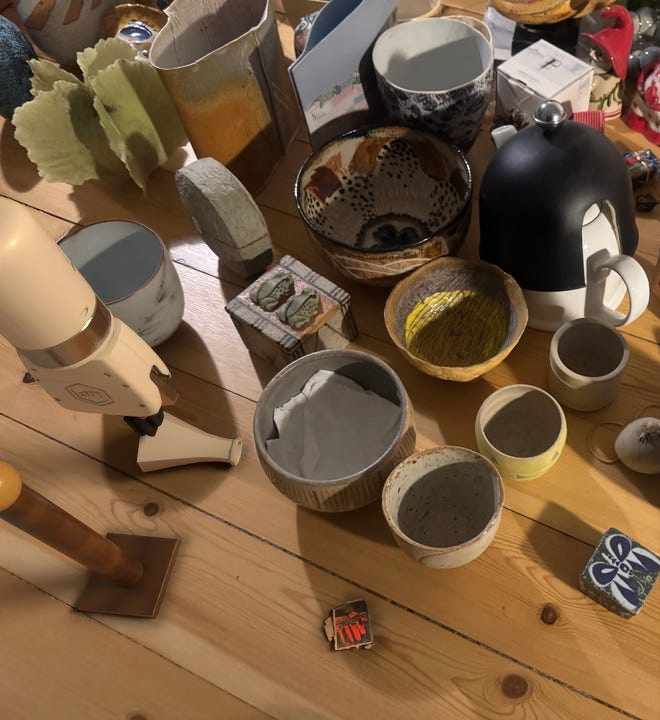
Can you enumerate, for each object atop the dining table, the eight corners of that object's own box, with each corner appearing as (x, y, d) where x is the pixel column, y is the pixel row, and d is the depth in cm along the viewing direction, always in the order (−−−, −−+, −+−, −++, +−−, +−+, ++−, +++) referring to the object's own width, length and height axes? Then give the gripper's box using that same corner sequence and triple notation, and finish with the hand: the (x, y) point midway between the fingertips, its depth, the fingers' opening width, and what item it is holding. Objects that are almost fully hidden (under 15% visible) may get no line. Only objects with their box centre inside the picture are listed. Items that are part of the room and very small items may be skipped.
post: (82, 610, 73) (-105, 524, 51) (111, 535, 78) (-50, 425, 55) (156, 618, 73) (0, 533, 50) (181, 541, 77) (47, 432, 54)
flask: (150, 473, 82) (238, 485, 83) (129, 469, 75) (225, 482, 76) (165, 412, 84) (250, 424, 85) (145, 402, 77) (238, 416, 78)
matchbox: (363, 594, 73) (362, 593, 73) (382, 641, 71) (381, 640, 70) (320, 615, 72) (319, 614, 72) (337, 664, 70) (336, 663, 69)
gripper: (-43, 356, 59) (71, 450, 74) (130, 369, 58) (209, 461, 73) (-2, 285, 63) (99, 388, 78) (160, 295, 62) (230, 398, 77)
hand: (152, 423), depth 76 cm, fingers closed
